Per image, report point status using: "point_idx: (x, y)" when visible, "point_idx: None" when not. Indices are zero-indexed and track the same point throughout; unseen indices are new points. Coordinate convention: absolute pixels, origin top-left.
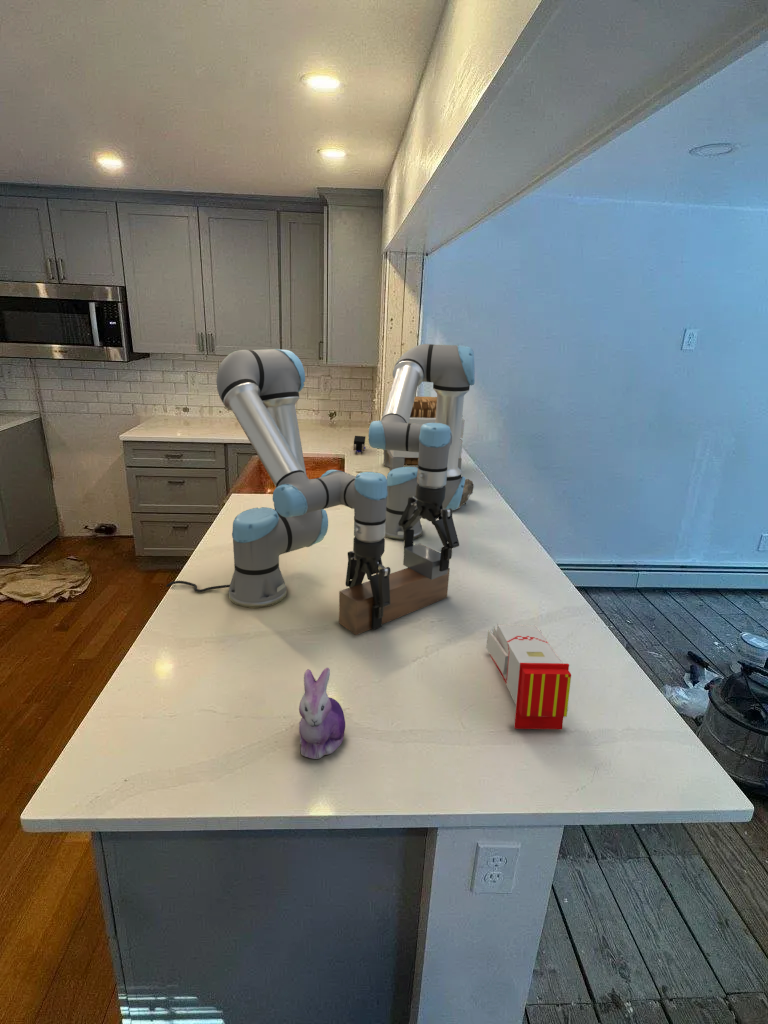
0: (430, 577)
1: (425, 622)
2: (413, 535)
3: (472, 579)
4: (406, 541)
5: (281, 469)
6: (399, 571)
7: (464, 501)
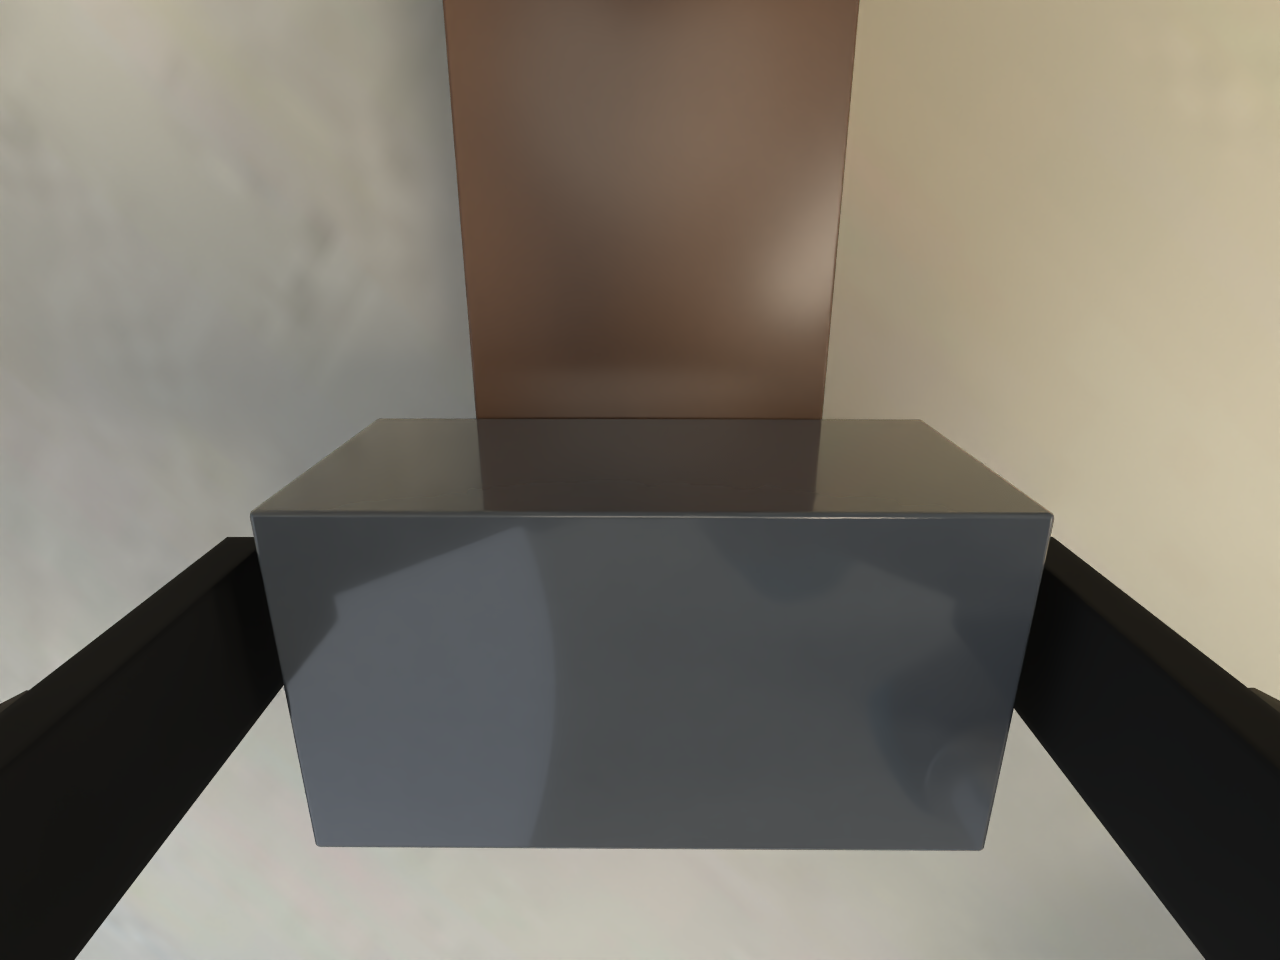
0: (391, 424)
1: (338, 175)
2: (1170, 903)
3: (643, 892)
4: (1155, 669)
5: None
6: (815, 234)
7: None
